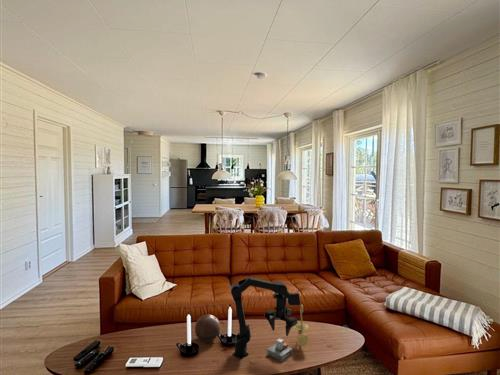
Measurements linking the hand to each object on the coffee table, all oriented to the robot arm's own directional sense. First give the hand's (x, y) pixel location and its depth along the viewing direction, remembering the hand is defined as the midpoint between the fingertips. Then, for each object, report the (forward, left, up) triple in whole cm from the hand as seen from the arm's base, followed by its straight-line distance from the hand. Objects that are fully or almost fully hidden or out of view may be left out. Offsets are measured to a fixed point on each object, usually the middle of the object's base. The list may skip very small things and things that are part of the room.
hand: (280, 333), depth 173 cm
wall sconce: (+16, -4, -12) cm, 20 cm away
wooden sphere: (-17, +41, -12) cm, 46 cm away
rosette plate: (0, 0, -12) cm, 12 cm away
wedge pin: (0, 0, -12) cm, 12 cm away
